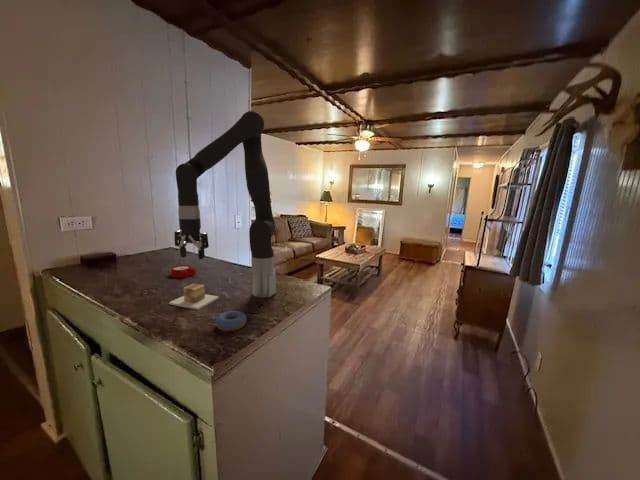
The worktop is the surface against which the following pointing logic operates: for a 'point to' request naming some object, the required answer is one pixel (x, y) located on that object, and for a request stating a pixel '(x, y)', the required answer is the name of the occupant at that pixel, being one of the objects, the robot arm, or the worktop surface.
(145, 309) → the worktop surface
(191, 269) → the alarm clock
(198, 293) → the maple block
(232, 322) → the doughnut
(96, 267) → the worktop surface
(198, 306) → the plate
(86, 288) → the worktop surface
